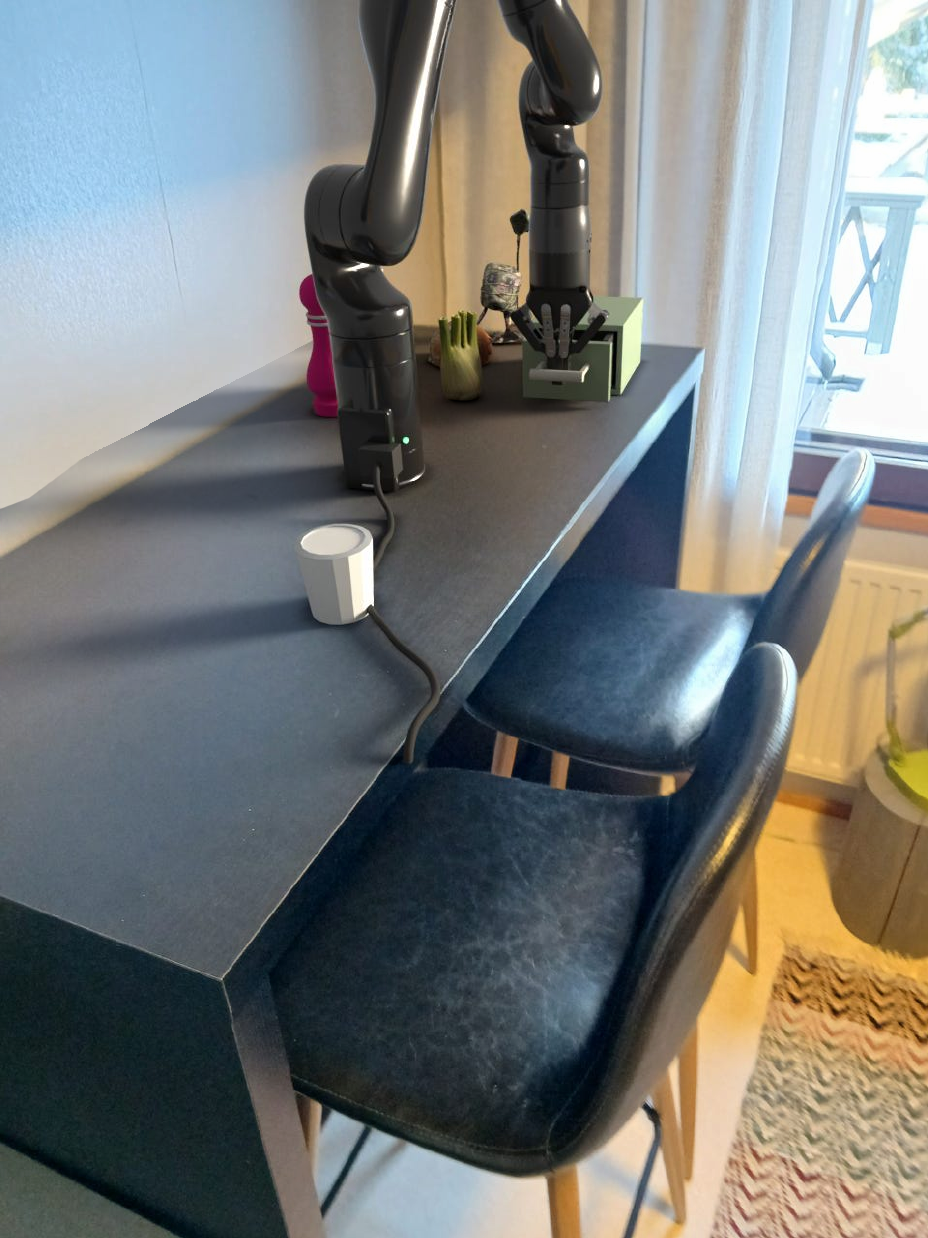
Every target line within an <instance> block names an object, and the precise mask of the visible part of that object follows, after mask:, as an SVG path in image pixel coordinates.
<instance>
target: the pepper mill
mask: <svg viewBox="0 0 928 1238" xmlns="http://www.w3.org/2000/svg"><path fill="white" fill-rule="evenodd" d="M298 289H299V290H298V296H299V300H300V304H301V305H302V306H303V307H304V308H305V309H306V310H307V311H306V312H305V317H306V324H307V325H309V326H310V329H311V330H310V331H311V334H312V351H311V355H310V359H309V361H308V365H307V369H306V385H307V387H308V388H307V389H309V390H310V391H311V393H313V394H314V395H315V396H314V397H313V399H312V403H313V404H312V405H313V409H314V410H313V411H314V413H315V414H316V415H317V416H320V417H324V418H338V415H337V410H338V402H337V394H336V386H335V378H334V370H333V362H332V353H331V345H330V337H329V330H328V323H327V319H326V316H325V314H324V312H323V310H322V309H321V307H320V305H319V302H318V299H317V296H316V291H315V286H314V280H313V274H312V273H311V274H308V275H307V276H305V278H304V279H302V281H301V282H300V285H299V288H298Z"/></svg>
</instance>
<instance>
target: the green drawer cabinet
mask: <svg viewBox="0 0 928 1238" xmlns="http://www.w3.org/2000/svg"><path fill="white" fill-rule="evenodd" d="M593 298H594V301H593V303H594V304H596V305H597V306H598V307H599V308H600V309H601V310H607V311H608V312H609V317H608V319H607V320H606V321H605V323H604V324H603V325H602V326H601V328H600V329H599V330H598V331H618V332H617V357H616V380H615V381H614V383H613V385H612V386H611V388H610V396H621V395H622V394H623V392H624V390H625V389H626V387H627V385H628V383H629V381H630V380H631V378H632V376H633V375H634V373H635V371H636V369H637V368H638V366H639V365H640V363H641V350H642V331H643V310H644V298H643V297H634V296H633V297H632V296H631V297H629V296H599V295H597V296H595V295H593ZM588 317H589V312H588V311H587V313H586V314H585V315H584V317H583V318H582V319H581V321H580V322H579V323H578V325H577V326H576V327H575V330H587V328H588V327H589V326H590V324H589V323H588V321H587V319H588ZM531 320H532V322H533V323H534V324H535V326H536V327H537V328H538V330H540V329H541V328H543V327H542V326H541V325H540V323H539V322H538V320H537V319H536V318H535V316H534V317H532V318H531Z"/></svg>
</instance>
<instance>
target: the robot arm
mask: <svg viewBox="0 0 928 1238" xmlns="http://www.w3.org/2000/svg"><path fill="white" fill-rule="evenodd" d="M457 1H458V0H358V3H357V20H358V28H359V29H358V30H359V33H360V39H361V43H362V47H363V51H364V56H365V59H366V63H367V67H368V70H369V73H370V78H371V82H372V87H373V92H374V116H373V126H372V131H371V132H372V133H371V138H370V144H369V148H368V151H367V152H368V153H367V157H366V161H365V164H350V163H349V164H348V163H338V164H336V163H335V164H330V165H327V166H323V168H321V169H319V170H318V171H317V172H316V173H315V174H314V175H313V176H312V178H311V180H310V181H309V183H308V186H307V189H306V192H305V196H304V202H303V203H304V204H303V205H304V206H303V224H304V232H305V233H304V234H305V239H306V245H307V252H308V256H309V264H310V268H311V274H313V280H314V286H315V291H316V296H317V299H318V302H319V305H320V307H321V309H322V310H323V312H324V314H325V316H326V319H327V323H328V330H329V337H330V345H331V353H332V362H333V370H334V378H335V386H336V394H337V402H338V410H337V415H338V417H337V423H338V430H339V438H340V448H341V454H342V455H341V456H342V460H343V462H342V463H343V469H344V478H345V484H346V485H345V486H346V488H349V489H359V490H366V491H367V490H368V491H374V492H375V495H376V498H377V500H378V502H379V504H380V505H381V507H382V508H383V510H384V514H385V516H386V521H387V531H386V533H385V534H384V536H383V537H382V539H381V540H380V542H379V543H378V546H377V548H376V551H375V553H374V554H373V573H374V572H375V570H376V568H377V567H378V565H379V563H380V561H381V560H382V557H383V555H384V552H385V550H386V548H387V545H388V543H389V542H390V541H391V539H392V538H393V535H394V531H395V519H394V513H393V510H392V507H391V506H390V504H389V502H388V500H387V499H386V497H385V495H384V493H383V492H387V493H396V492H397V491H398V490H399V489H402V488H405V487H408V486H411V485H413V484H416V483H417V482H420V480H422V479H423V478H424V476H426V472H427V471H426V464H425V457H424V444H423V432H422V420H421V407H420V395H419V393H420V392H419V380H418V379H419V378H418V368H417V355H416V354H417V353H416V341H415V328H414V315H413V306H412V302H411V301H410V299H409V297H408V296H407V295H406V294H405V293H403V292H402V291H401V290H399V289H398V288H397V287H395V286H394V285H393V284H392V283H391V282H390V281H389V279H388V278H387V276H386V275H385V274H384V271H383V272H382V270H381V269H382V267H393V266H396V265H398V264H400V263H402V262H403V261H404V260H406V258H408V256H409V255H410V253H411V252H412V250H413V248H414V247H415V245H416V242H417V239H418V237H419V234H420V230H421V227H422V226H421V225H422V221H423V215H424V208H425V202H426V201H425V200H426V193H427V184H428V173H429V163H430V157H431V156H430V154H431V147H432V146H431V145H432V138H433V137H432V136H433V129H434V122H435V117H436V116H435V115H436V108H437V103H438V97H439V92H440V87H441V81H442V73H443V68H444V64H445V63H444V62H445V57H446V54H447V53H446V52H447V47H448V45H449V44H448V43H449V38H450V35H451V31H452V26H453V21H454V17H455V12H456V8H457V3H458V2H457ZM496 3H497V6H498V8H499V11H500V14H501V17H502V20H503V23H504V26H505V28H506V30H507V33H508V35H509V36H510V37H511V38H512V39H513V40H514V41H515V42H517V43H519V44H520V45H522V46H524V47H525V48H526V50H527V51H528V53H529V55H530V58H531V59H532V60H531V61H530V62H529V63H528V64H527V66H526V67H525V68H524V70H523V72H522V75H521V78H520V82H519V88H518V96H517V97H518V113H519V114H518V115H519V119H520V125H521V130H522V135H523V142H524V145H525V150H526V154H527V158H528V161H529V162H528V163H529V167H530V173H529V192H530V194H529V196H530V197H529V199H530V203H529V204H530V206H529V207H530V208H529V209H530V210H529V211H530V212H529V216H530V218H529V231H528V272H529V273H528V277H529V278H528V282H529V289H528V292H527V294H526V296H525V302H524V303H523V304H522V305H520V306H518V308H517V307H516V308H515V310H514V311H513V312H512V313H511V315H510V318H511V322H512V323H514V324H515V325H516V327H517V328H518V329H519V331H520V332H521V333H522V335H523V336H524V337H525V339H526V340H527V341H528V343H529V344H530V345H531V347H532V348H533V349H534V350H535V351H537V352H538V351H540V352H542V353H544V354H546V356H547V370H566V371H571V355H572V354H574V353H577V354H578V353H580V352H581V351H582V350H583V348H584V347H585V346H586V345H587V344H588V342H589V341H590V340H591V339H592V337H593V336H594V335H595V334H596V332H597V331H598V330H599V329H600V328H601V326H602V325H603V324H604V323H605V321H606V320H607V319H608V317H609V312H608V311H607V310H601V309H600V308H599V307H598V306H597V305H596V304H594V303H593V301H594V298H593V296H594V295H593V293H592V291H591V243H592V237H593V236H592V235H593V234H592V221H591V219H592V218H591V212H590V211H591V210H590V181H591V178H590V177H591V165H590V159H589V155H588V154H587V153H586V152H585V151H584V150H583V149H582V148H580V147H579V146H578V144H577V143H576V139H575V138H576V137H575V131H574V127H578V126H581V125H584V124H586V123H587V122H589V121H590V120H591V119H592V118H593V117H594V116H595V115H596V113H597V112H598V110H599V107H600V105H601V102H602V98H603V87H604V86H603V76H602V70H601V66H600V64H599V60H598V58H597V55H596V53H595V51H594V48H593V47H592V44H591V43H590V40H589V37H588V36H587V34H586V32H585V30H584V28H583V26H582V24H581V23H580V20H579V19H578V17H577V15H576V14H575V11H573V9H572V7H571V5H570V3H569V1H568V0H496ZM587 311H588V312H589V317H588V319H587V321H588V323H589V324H590V326H589V327H588V328H587V330H586V331H585V332H584V333H583V334H582V336H581V337H580V338H579V339H578V340H577V341H574V342H573V335H574V331H575V327H576V326H577V325H578V323H579V322H580V321H581V319H582V318H583V317H584V315H585V314H586V313H587ZM533 316H534V317H535V318H536V319H537V320H538V322H539V323H540V325H541V326H542V327H543V332H544V336H543V335H542V334H541V332H540V331H539V330H538V328H537V327H536V326H535V324H534V323H533V322H532V319H533ZM559 329H560V334H559ZM559 339H560V345H559ZM564 383H565V382H562V381H552V385H564ZM367 612H368V613H369V614H368V615H369V616H370V618H371V619H372V620H373V622H374V624H376V626H378V628H379V629H380V630H381V631H382V633H383V634H384V635H385V636H386V638H387V639H388V640H389V641H390V643H391V644H392V645H393V646H394V648H396V650H397V651H399V652H400V653H402V654H403V656H404V657H406V658H408V659H409V660H410V661H411V662H412V663H413V664H415V665H416V666H417V667H418V668H420V670H421V671H422V673H424V674H425V676H426V678H427V679H428V682H429V686H430V691H431V694H430V697H429V698H428V700H427V702H426V703H425V704H424V705H423V707H421V709H419V711H418V712H417V713H416V715H415V716H414V718H413V719H412V720H411V723H410V725H409V726H408V729H407V731H406V736H405V740H404V745H403V755H402V756H403V757H402V758H403V759H402V763H403V764H405V765H411V764H412V763H413V761H414V753H415V752H414V751H415V744H416V740H417V737H418V733H419V731H420V729H421V727H422V726H423V724H424V722H425V721H426V719H427V718H428V717H429V715H430V714H431V713H432V712H433V711H434V709H436V707H437V705H438V704H439V702H440V699H441V693H442V691H441V683H440V681H439V678H438V675H437V674H436V673H435V670H434V669H433V668H432V667H431V666H430V664H429V663H428V662H427V661H426V660H425V659H424V658H423V657H422V656H420V654H418V653H416V652H415V651H414V650H412V649H411V648H410V647H409V646H407V644H406V643H404V642H403V641H402V640H401V639H400V638H399V637H398V636H397V635H396V633H395V632H394V631H393V630H392V628H391V627H390V625H388V623H387V622H386V621H385V620H384V618H382V616H381V615H380V614H379V612H378V611H377V610H376V609H375V607H374V606H373V605H372V604H370V605H369V606H368V608H367Z"/></svg>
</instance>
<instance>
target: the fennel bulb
mask: <svg viewBox="0 0 928 1238" xmlns="http://www.w3.org/2000/svg"><path fill="white" fill-rule="evenodd" d="M457 312H458V314H457V313H454V314H452V315H450V321H451V342H450V335H449V327H448V322H449V320H448V318H447V317H446V316H440V317H438V318H437V322H438V323H437V324H438V329H439V331H440V343H441V368H440V367H439V368H440V380H441V385H442V390H443V392H444V395H445V397H446V398H447V399H449V400H457V401H471V400H475V399H476V398H478V397H479V395H480V394H481V390H482V386H483V367H482V366H483V365H482V366H481V359H480V354H479V350H478V345H477V321H478V312H476V311H473V310H469V311H466V310H458V311H457Z"/></svg>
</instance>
